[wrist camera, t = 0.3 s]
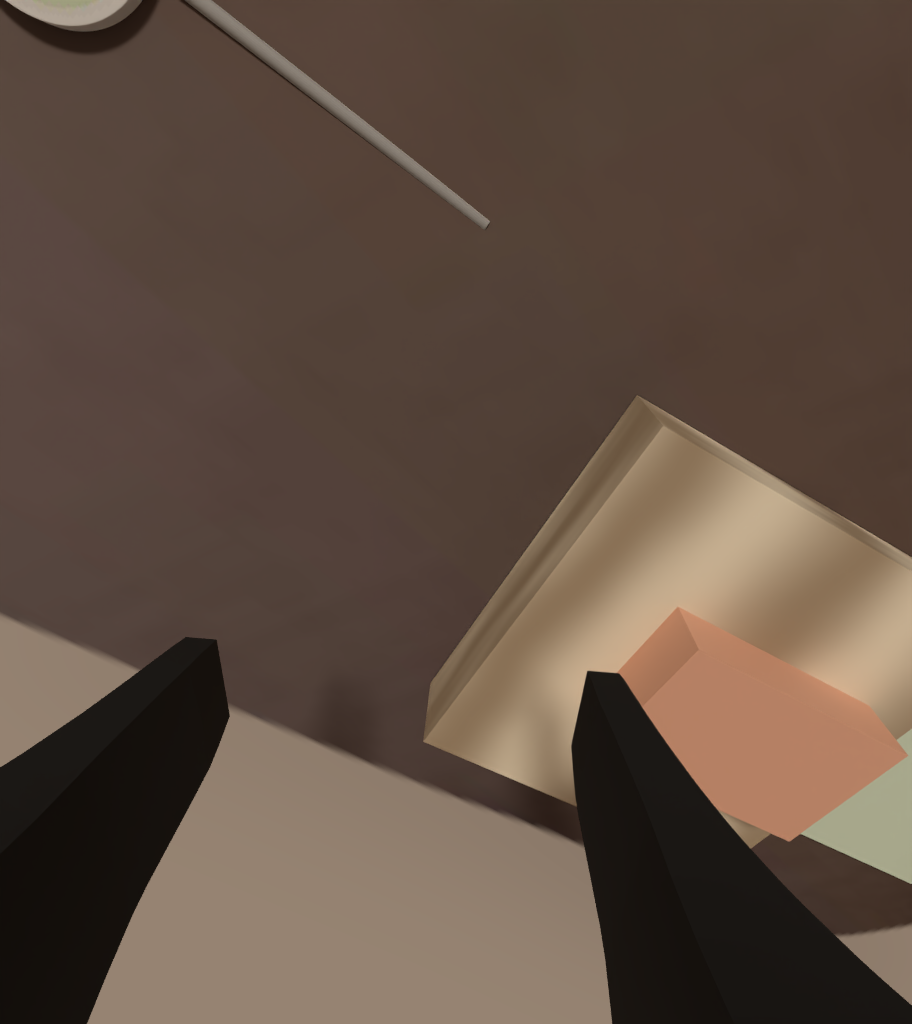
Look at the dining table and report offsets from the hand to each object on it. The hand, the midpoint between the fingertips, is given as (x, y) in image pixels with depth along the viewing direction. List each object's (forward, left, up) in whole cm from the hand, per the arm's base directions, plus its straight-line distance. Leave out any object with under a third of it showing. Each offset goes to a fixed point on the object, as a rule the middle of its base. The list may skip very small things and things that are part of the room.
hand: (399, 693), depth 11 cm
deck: (-9, +7, -10) cm, 14 cm away
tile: (-10, +7, -7) cm, 14 cm away
